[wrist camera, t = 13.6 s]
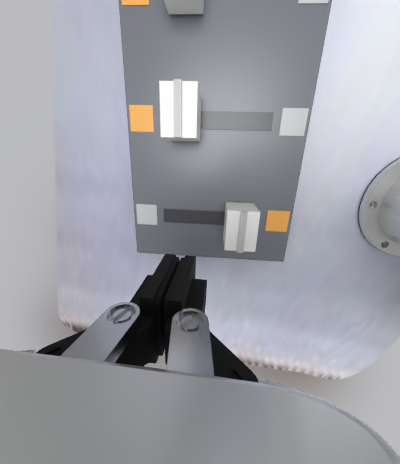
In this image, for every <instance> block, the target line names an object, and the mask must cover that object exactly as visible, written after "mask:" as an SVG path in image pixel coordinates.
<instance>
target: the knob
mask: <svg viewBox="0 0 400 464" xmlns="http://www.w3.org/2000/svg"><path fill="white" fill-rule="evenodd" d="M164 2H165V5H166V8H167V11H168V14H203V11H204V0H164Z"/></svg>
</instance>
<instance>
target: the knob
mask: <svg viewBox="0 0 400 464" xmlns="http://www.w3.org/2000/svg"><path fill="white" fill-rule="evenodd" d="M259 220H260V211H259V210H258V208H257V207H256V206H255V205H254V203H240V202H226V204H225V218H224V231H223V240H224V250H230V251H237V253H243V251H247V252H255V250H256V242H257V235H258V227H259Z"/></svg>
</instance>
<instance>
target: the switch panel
mask: <svg viewBox="0 0 400 464" xmlns="http://www.w3.org/2000/svg"><path fill="white" fill-rule="evenodd" d="M331 2H332V0H204V11H203V14H168V11H167V8H166V5H165V2H164V0H119V11H120V24H121V38H122V51H123V65H124V78H125V92H126V105H127V118H128V132H129V145H130V159H131V172H132V186H133V199H134V213H135V226H136V240H137V252H140V253H156V254H175V255H188V256H204V257H219V258H235V259H251V260H267V261H284V256H285V250H286V245H287V240H288V234H289V229H290V223H291V218H292V213H293V207H294V202H295V196H296V191H297V186H298V180H299V175H300V169H301V164H302V159H303V153H304V148H305V143H306V137H307V132H308V126H309V121H310V116H311V110H312V105H313V99H314V94H315V89H316V83H317V78H318V72H319V67H320V62H321V56H322V51H323V46H324V40H325V35H326V29H327V24H328V19H329V13H330V8H331ZM173 79H182V81H198V84H199V88H200V92H201V123H200V142H194V141H170V140H167V139H165V138H162V137H161V128H160V92H159V81H173ZM226 202H240V203H254V205H255V206H256V207H257V208H258V210H259V211H260V220H259V227H258V235H257V242H256V250H255V252H247V251H243V253H237V251H230V250H224V240H223V231H224V218H225V204H226Z"/></svg>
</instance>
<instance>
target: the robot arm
mask: <svg viewBox="0 0 400 464" xmlns="http://www.w3.org/2000/svg"><path fill="white" fill-rule="evenodd" d="M359 223H360V227H361V230H362V233H363V235H364V236H365V238H366V239H367V241H368V242H370V243H371V244H372V245H373V246H374V247H376V248H377V249H379V250H381V251H383V252H385V253H387V254H389V255H394V256H398V257H400V158H399V159H397V160H396V161H394V162H393V163H392V164H390V165H389V166H387V167H386V168H385V169H384V170H383V171H382V172H381V173H380V174H378V175H377V176H376V178H375V179H374V180H373V182H372V183H371V184H370V185H369V187H368V189H367V191H366V192H365V194H364V196H363V199H362V202H361V205H360V211H359ZM195 267H196V256H188V255H186V256H185V258H181V260H179V257H176V255H175V254H165V256H164V257H163V259H162V261H161V262H160V264H159V266H158V267H157V269H156V271H155V272H154V274H153V275H148V276H147V277H146V278H145V280H144V281H143V283H142V284H141V286H140V288H139V289H138V291H137V292H136V294H135V295H134V297H133V298H132V300H131V301H130V302H121V303H118V304H115V305H113V306H111V307H110V308H108V309H107V310H106V311H105V312H104V313H103V314H102V315H101V316H100V317H99V318H98V319H97V320H96V321H95V322H94V323H93V324H92V325H91V326H90V327H89V328H88V329H86V330H84V331H81V332H79V333H77V334H75V335H72V336H70V337H67V338H65V339H63V340H60V341H58V342H56V343H53V344H51V345H48V346H46V347H44V348H42V349H41V350H39V351H38V352H36V350H26V351H13V350H3V349H0V464H400V457H399V455H398V454H397V453H396V452H395V451H394V449H393V448H392V447H391V446H390V445H389V444H388V443H387V442H386V441H385V440H384V439H383V438H382V437H381V436H380V435H379V434H378V433H377V432H375V431H374V430H373V429H372V428H371V427H369V426H368V425H367V424H365V423H364V422H362V421H361V420H359V419H358V418H356V417H355V416H353V415H351V414H350V413H348V412H346V411H344V410H342V409H340V408H338V407H336V406H335V405H334V404H333V403H331V402H329V401H327V400H325V399H323V398H320V397H317V396H314V395H311V394H308V393H305V392H303V391H300V390H297V389H294V388H291V387H288V386H285V385H283V384H280V383H277V382H274V381H271V380H268V379H267V380H266V382H264V381H261V380H258V379H257V378H256V376H255V375H254V374H253V372H252V371H251V370H250V369H249V368H248V367H247V366H246V365H245V364H244V363H243V362H242V361H240V360H239V359H238V358H237V357H236V356H235V355H234V354H233V353H232V352H231V351H230V350H229V349H228V348H227V347H226V346H225V345H224V344H223V343H221V342H220V341H219V340H218V339H217V338H216V337H215V336H214V335H213V334H212V333H211V332H210V331H209V322H208V318H207V316H206V315H205V313H204V312H205V303H206V288H207V280H200V279H195ZM164 350H165V359H166V365H167V370H165V369H157V368H150V367H144V365H145V364H147V363H156V362H157V359H158V356H159V355H161V356H162V355H163V352H164Z"/></svg>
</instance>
